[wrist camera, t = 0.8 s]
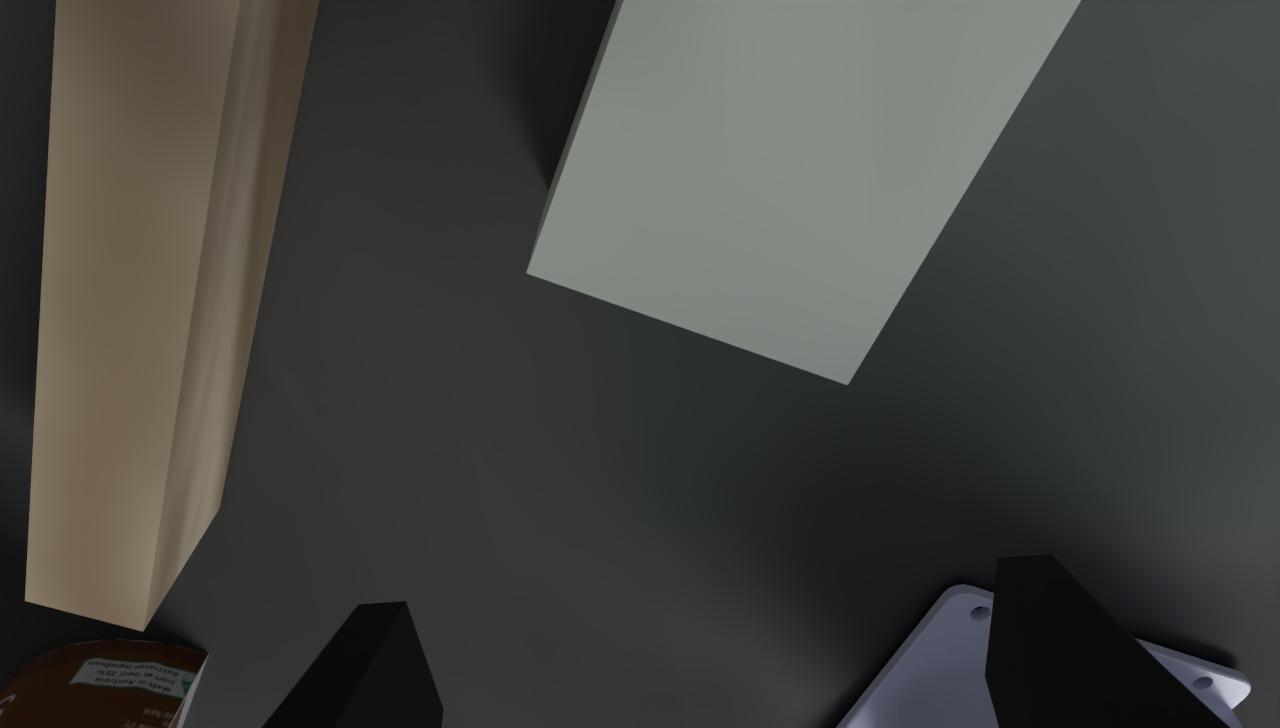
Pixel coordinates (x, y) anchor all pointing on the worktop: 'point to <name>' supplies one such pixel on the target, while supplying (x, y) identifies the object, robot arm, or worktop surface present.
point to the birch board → (151, 282)
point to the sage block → (782, 160)
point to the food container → (104, 686)
